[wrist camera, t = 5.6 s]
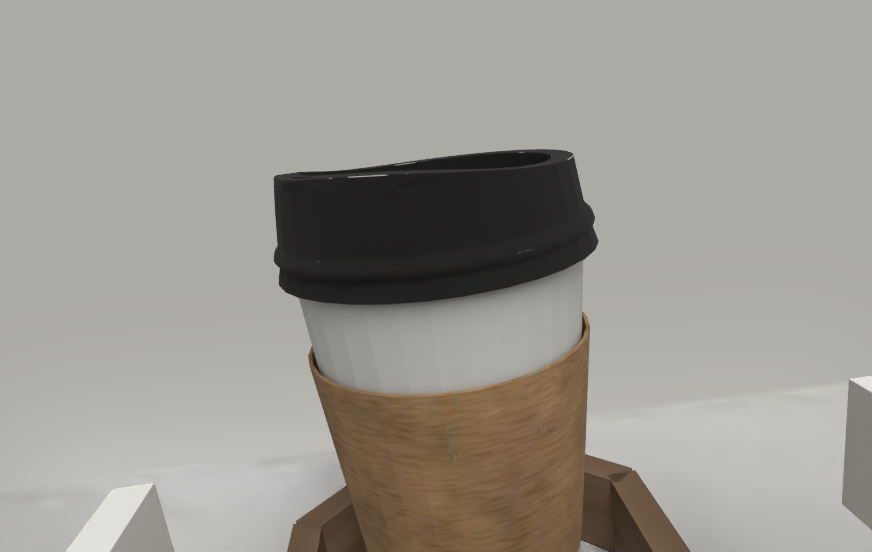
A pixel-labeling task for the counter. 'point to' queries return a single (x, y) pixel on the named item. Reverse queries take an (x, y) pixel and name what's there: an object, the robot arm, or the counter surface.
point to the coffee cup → (448, 343)
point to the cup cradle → (601, 525)
